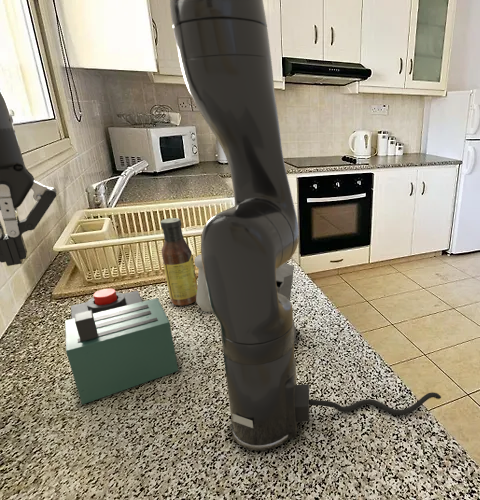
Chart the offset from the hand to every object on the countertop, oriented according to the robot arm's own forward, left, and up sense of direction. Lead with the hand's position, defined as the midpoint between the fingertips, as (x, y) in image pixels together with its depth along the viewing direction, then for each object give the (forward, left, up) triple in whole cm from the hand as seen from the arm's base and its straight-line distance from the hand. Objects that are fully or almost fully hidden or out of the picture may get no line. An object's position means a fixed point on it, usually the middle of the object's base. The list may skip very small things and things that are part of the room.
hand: (15, 262), depth 49 cm
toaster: (-7, -7, -24) cm, 26 cm away
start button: (+5, -26, -20) cm, 34 cm away
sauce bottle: (-9, -32, -24) cm, 41 cm away
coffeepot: (-31, -16, -24) cm, 42 cm away
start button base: (+5, -26, -24) cm, 36 cm away
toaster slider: (-5, -3, -13) cm, 14 cm away
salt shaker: (-16, -28, -24) cm, 40 cm away
